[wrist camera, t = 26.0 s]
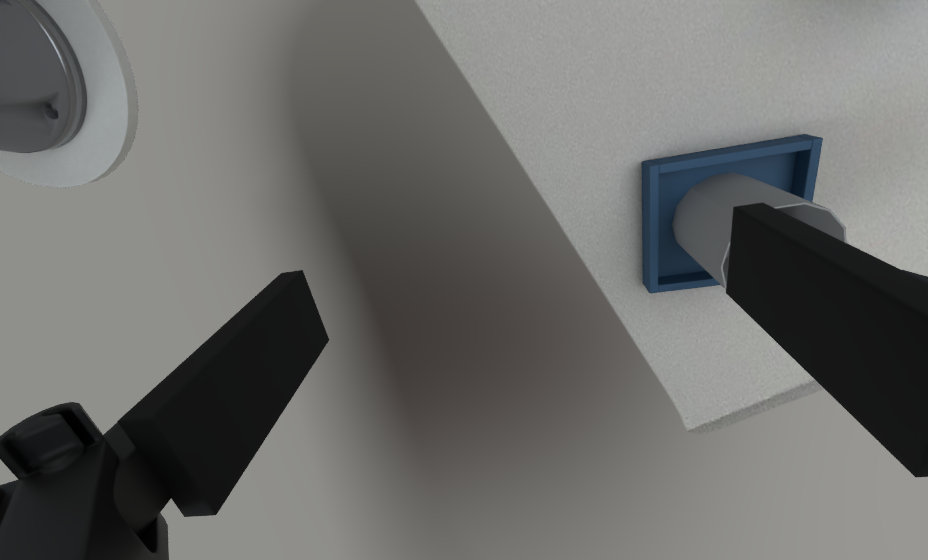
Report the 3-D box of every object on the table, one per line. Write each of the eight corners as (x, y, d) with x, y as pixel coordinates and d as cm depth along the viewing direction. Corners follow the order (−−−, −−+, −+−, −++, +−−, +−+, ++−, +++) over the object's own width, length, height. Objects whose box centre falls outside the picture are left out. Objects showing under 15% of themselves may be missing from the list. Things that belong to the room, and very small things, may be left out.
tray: (642, 283, 44) (649, 293, 42) (641, 161, 39) (649, 166, 37) (785, 265, 42) (800, 275, 40) (805, 134, 37) (823, 137, 34)
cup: (772, 240, 40) (850, 288, 31) (683, 270, 42) (732, 322, 33) (759, 157, 37) (841, 183, 28) (664, 193, 39) (712, 228, 30)
